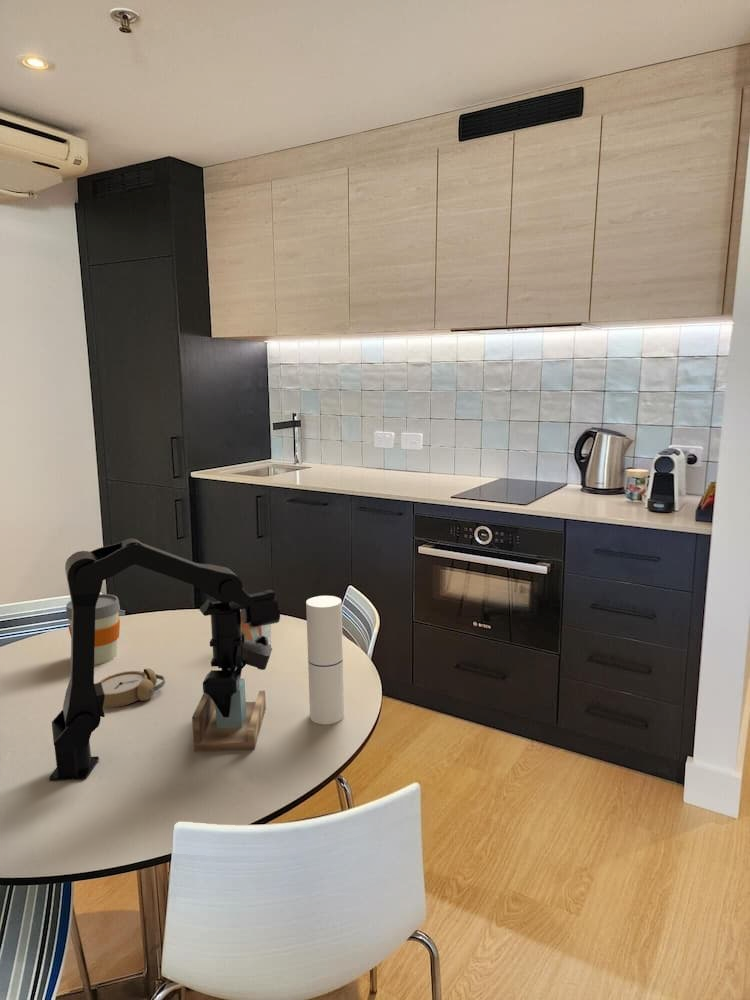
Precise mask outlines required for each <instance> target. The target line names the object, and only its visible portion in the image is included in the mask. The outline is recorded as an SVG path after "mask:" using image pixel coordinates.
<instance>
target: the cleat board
mask: <svg viewBox="0 0 750 1000" xmlns="http://www.w3.org/2000/svg"><path fill="white" fill-rule="evenodd" d="M266 702H267V701H266V690H259V691H258V694H257V697H256V701H246V718H245V721H244V724H243V727H242V728H217V724H216V708H215V703H214V701H213V700H212V699H211V697H210V696H209V695H208V694H206V693H204V692H203V693H202V695H201V698H200V700H199V702H198V704H197V706H196V708H195V710H194V712H193V713H192V714H193V715H192V716H191V723H192V734H193V751H194V752H213V751H215V752H217V751H247V750H251V751H252V750H255V749H256V747H257V742H258V740H259V735H260V732H261V727H262V724H263V720H264V716H265V714H266V712H265V711H266V709H267V706H266V705H267V703H266Z"/></svg>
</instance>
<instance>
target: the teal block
mask: <svg viewBox="0 0 750 1000" xmlns="http://www.w3.org/2000/svg"><path fill="white" fill-rule="evenodd" d="M245 682H246V681H245V678H240V680H239V688H238V690H237V692H236V693H234V694H233V695H232V700H231V708H230V715H229V717H223V716H222V714H221V712H220V711H219V709H218V708H217V706H216V704H215V708H216V724H217V728H242V727H243V724H244V721H245V718H246V702H247V701H246V700H247V699H246V684H245Z"/></svg>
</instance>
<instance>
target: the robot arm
mask: <svg viewBox="0 0 750 1000" xmlns="http://www.w3.org/2000/svg"><path fill="white" fill-rule="evenodd" d="M134 565H136V566H138V567H142V568H144V569H147V570H151V571H153V572H156V573H158V574H162V575H164V576H168V577H170V578H173V579H175V580H178V581H182V582H184V583H186V584H189V585H192V586H194V587H195V588H197V589H199V591H202V592H203V593H204V594H207V596H209V597H212V598H213V599H215V600H217V602H216V601H215V602H212V601H211V600H210V599H206V601H205V602H204V604H202V605H201V606H200V607H199V612H201V614H202V615H203V616H204V617H207V616H210V624H211V625H210V626H211V638H210V641H209V647H210V648H211V647H212V657H213V658H211V661H210V666H211V667H213V668H214V667H217V668H218V670H213V669H212V670H210V671H209V672H208V673H207V674H206V675H205V677H204V680H203V681H202V692H203V693H206V694H208V695H209V696H210V697H211V699H212V700H213V701H214V703H215V704H216V706H217V708H218V709H219V711H220V712H221V714H222V716H223V717H229V715H230V708H231V700H232V695H233V694H234V693H236V692H237V690H238V688H239V680H240V679H242V678H241V677H242V671H243V669H244V668H245V666H246V665H247V666H250V667H254V668H257V669H258V670H260V671H264V670H266V669H267V666H268V663H269V660H270V657H271V654H272V652H273V651H272V650H273V648H272V645H271V644H270V645H269V646H268V639H267V637H266V636H263V635H260V636H259V637H258V638H257V639H256V640H255V641H254V640H253V639H252V641H249V640H246V639H245V634H244V632H242V630H241V617H242V620H243V623H244V624H247V623H248V625H249V627H250V628H253V627H258V626H264V625H269V624H271V625H275V624H277V623H279V622H280V620H281V610H280V609H279V603H278V600H277V599H276V592H275V591H274V590H272V589H266V590H263V591H260V592H255V593H254V592H253V593H248V592H247V591H246V590H245V589H244V588H243V582H242V580H241V578H240V577H239V576H238V575H236V573H234V572H233V571H232V570H231V569H230V568H228V567H225V566H221V565H217V564H215V565H214V564H211V563H210V564H209V563H199V562H195V561H191V560H189V559H186V558H183V557H181V556H178V555H176V554H173V553H170V552H169V551H164V550H163V549H159V548H156V547H154V546H151V545H149V544H146V543H143V542H141V541H140V540H138V539H136V538H133V537H131V538H127V539H124V540H122V541H120V542H117V543H114V544H109V545H106V546H102V547H99V548H96V549H93V550H91V551H88V550H82V551H80V550H79V551H77V552H74V553H72V554H71V555H70V556H69V557H68V558H67V559H66V561H65V565H64V570H65V575H66V580H67V585H68V592H69V596H70V601H71V602H72V630H71V635H70V639H71V641H70V679H69V681H68V685H67V688H66V691H65V696H64V700H63V706H62V710H61V711H60V712H59V713H58V714H57V715H56V716H55V718H53V720H52V721H51V730H52V741H53V746H54V754H55V763H56V765H55V766H56V767H55V769H54V770H53V771H52V772H51V774H50V775H49V777H48V779H49V781H69V780H70V781H73V780H75V781H76V780H86V779H87V778H88V777H89V776H90V774H91V772H92V771H93V769H94V768H95V766H96V765H97V763H98V762H99V760H100V757H99V756H97V755H96V756H92V754H91V753H92V752H91V742H90V739H91V736H92V733H93V732H94V731H95V730H96V729H97V728H99V726H100V724H101V717H102V718H105V712H104V707H103V703H104V697H105V694H104V691H103V687H102V684H101V682H100V681H98V682H99V683H98V682H96V683H95V665H94V650H95V608H96V604H97V601H98V598H99V595H100V594H101V592H102V586H103V581H104V580H108V579H110V578H112V577H114V576H116V575H117V574H119V573H121V572H123V571H124V570H126V569H128V568H129V567H132V566H134ZM240 610H241V612H240ZM219 669H221V670H219Z"/></svg>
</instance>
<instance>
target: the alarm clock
mask: <svg viewBox="0 0 750 1000" xmlns="http://www.w3.org/2000/svg"><path fill="white" fill-rule="evenodd" d="M157 679H158V680H161V682H160V683H158V684H157V681H158V680H157ZM165 679H166V678H165V677H164V676H163V675H162V674H158V673H155V671H154V669H152V668H147V667H146V668H144V669H143V671H140V670H127V671H123V672H122V671H121V672H117V673H115V674H112V675H109V676H107V677H105V678H103V679H101V680H100V681H98V682H97V683H99V682H101V684H102V687H103V691H104V694H105V697H104V703H103V706H106V707H105V708H110V707H111V708H118V707H123V706H127V705H130V704H132V703H135V702H137V701H141V702H145V701H146V700H147V701H148V700H150V699H151V698H152V697H153V695H154V692H155V691H157V690H159V689H161V688H163V687H164V685H165V684H166V681H165Z"/></svg>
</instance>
